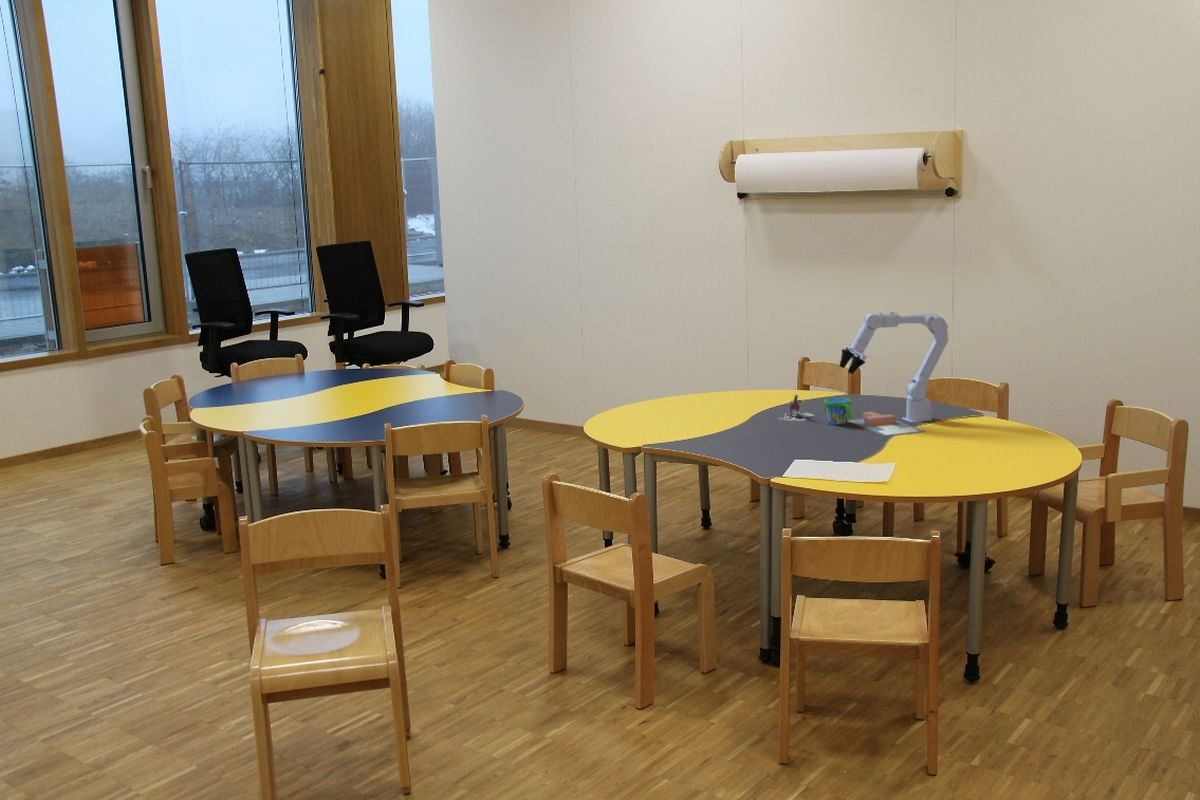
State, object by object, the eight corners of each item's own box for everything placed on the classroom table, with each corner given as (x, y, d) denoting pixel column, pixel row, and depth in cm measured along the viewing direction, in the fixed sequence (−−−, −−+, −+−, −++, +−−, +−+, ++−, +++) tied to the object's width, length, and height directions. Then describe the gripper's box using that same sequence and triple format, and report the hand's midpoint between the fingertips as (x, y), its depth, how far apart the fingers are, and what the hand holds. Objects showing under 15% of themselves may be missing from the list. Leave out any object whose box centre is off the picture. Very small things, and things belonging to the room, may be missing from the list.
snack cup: (858, 426, 459) (858, 402, 457) (835, 429, 456) (835, 404, 454) (839, 419, 474) (839, 395, 471) (816, 421, 471) (817, 397, 468)
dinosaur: (819, 420, 473) (819, 395, 471) (775, 422, 473) (775, 396, 471) (812, 411, 490) (812, 387, 488) (770, 412, 491) (770, 388, 489)
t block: (880, 417, 472) (880, 410, 472) (895, 423, 461) (895, 416, 460) (854, 420, 469) (854, 413, 468) (869, 426, 458) (869, 419, 457)
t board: (885, 417, 474) (885, 416, 474) (925, 432, 446) (925, 431, 446) (846, 421, 469) (846, 420, 469) (885, 436, 441) (885, 435, 441)
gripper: (846, 332, 466) (830, 361, 469) (862, 342, 453) (846, 372, 456) (859, 338, 469) (843, 367, 472) (876, 348, 456) (859, 378, 459)
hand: (845, 370), depth 464 cm, fingers open, 7 cm apart
